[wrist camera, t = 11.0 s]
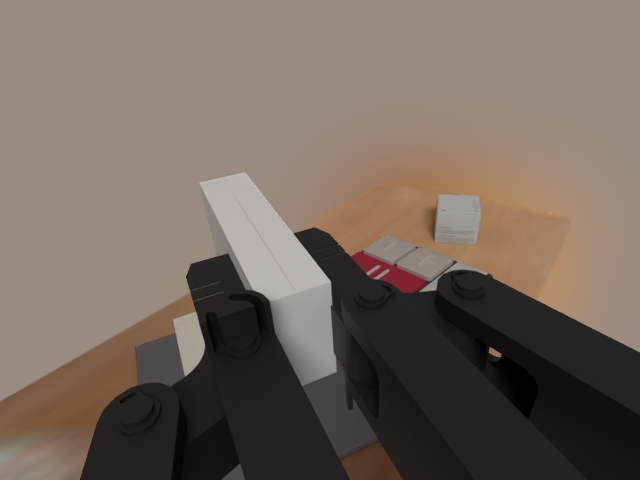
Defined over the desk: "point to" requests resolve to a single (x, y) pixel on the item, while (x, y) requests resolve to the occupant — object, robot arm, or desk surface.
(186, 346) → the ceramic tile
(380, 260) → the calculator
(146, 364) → the tile mat
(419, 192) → the desk surface
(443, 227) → the small box
